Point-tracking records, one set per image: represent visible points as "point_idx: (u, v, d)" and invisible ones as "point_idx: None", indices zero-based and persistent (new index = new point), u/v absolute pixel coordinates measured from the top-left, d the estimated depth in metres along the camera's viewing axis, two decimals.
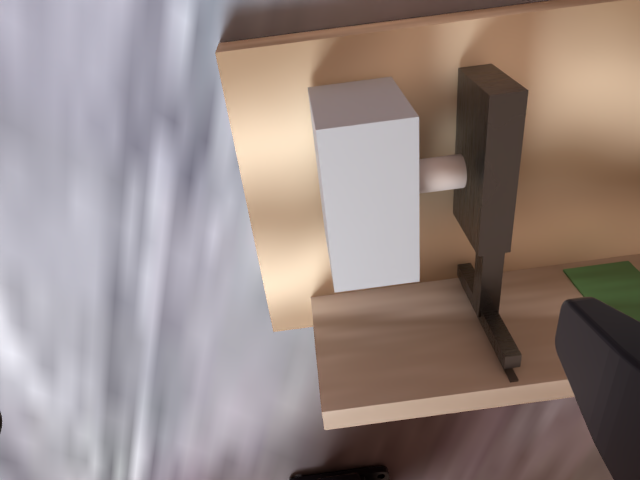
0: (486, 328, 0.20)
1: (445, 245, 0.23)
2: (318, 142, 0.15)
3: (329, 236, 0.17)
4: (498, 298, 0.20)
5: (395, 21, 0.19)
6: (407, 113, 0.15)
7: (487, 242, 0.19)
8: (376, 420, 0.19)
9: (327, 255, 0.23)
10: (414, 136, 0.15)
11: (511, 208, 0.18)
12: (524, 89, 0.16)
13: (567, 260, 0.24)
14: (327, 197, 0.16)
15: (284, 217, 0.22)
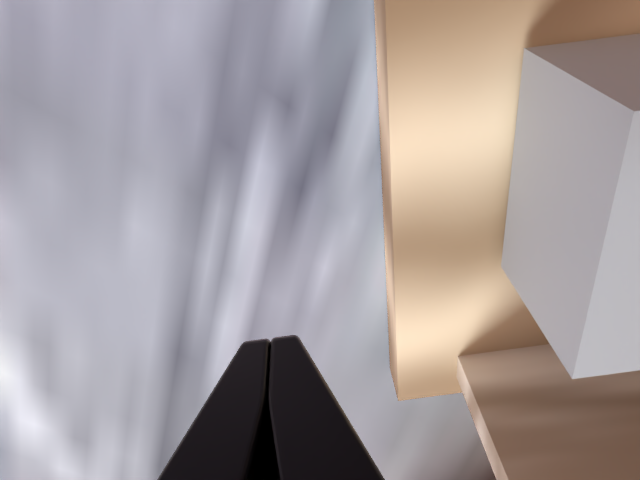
0: None
1: None
2: (630, 134, 0.08)
3: (593, 295, 0.10)
4: None
5: None
6: None
7: None
8: None
9: (493, 300, 0.16)
10: None
11: None
12: None
13: None
14: (613, 231, 0.09)
15: (443, 247, 0.15)
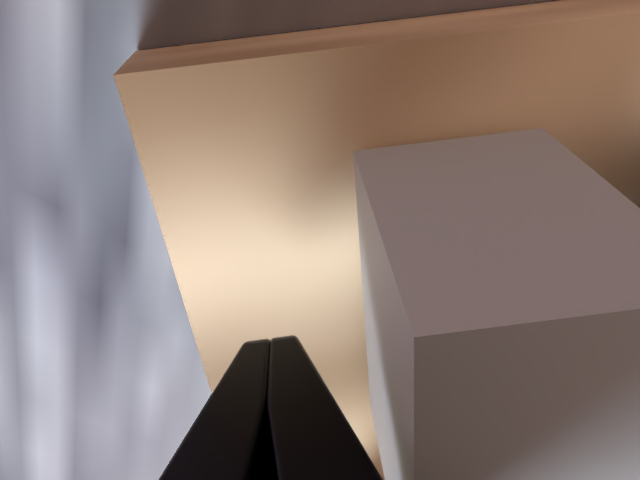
0: None
1: None
2: (417, 366, 0.05)
3: None
4: None
5: (521, 7, 0.09)
6: None
7: None
8: None
9: None
10: None
11: None
12: None
13: None
14: None
15: None
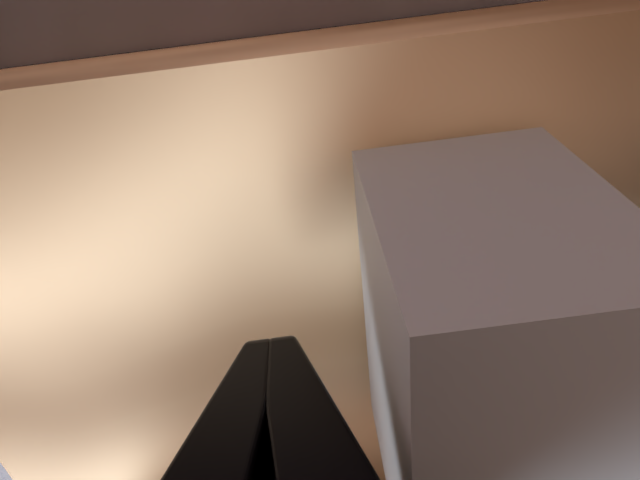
0: None
1: None
2: (414, 366, 0.05)
3: None
4: None
5: (209, 45, 0.09)
6: None
7: None
8: None
9: (140, 467, 0.12)
10: None
11: None
12: None
13: None
14: None
15: (37, 415, 0.11)
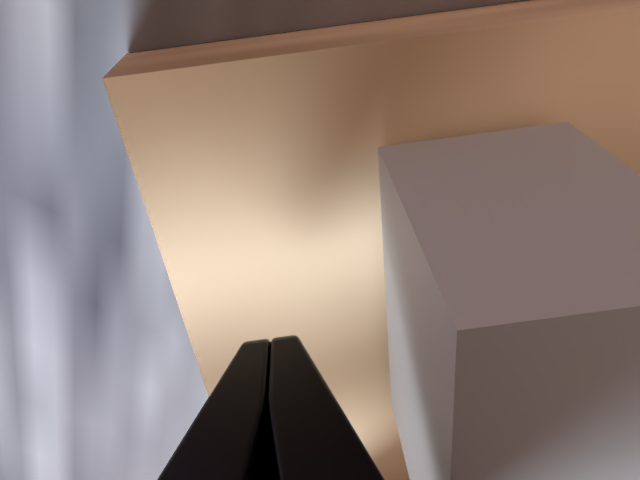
0: None
1: None
2: (459, 360, 0.05)
3: None
4: None
5: (512, 5, 0.09)
6: None
7: None
8: None
9: None
10: None
11: None
12: None
13: None
14: (461, 475, 0.06)
15: None
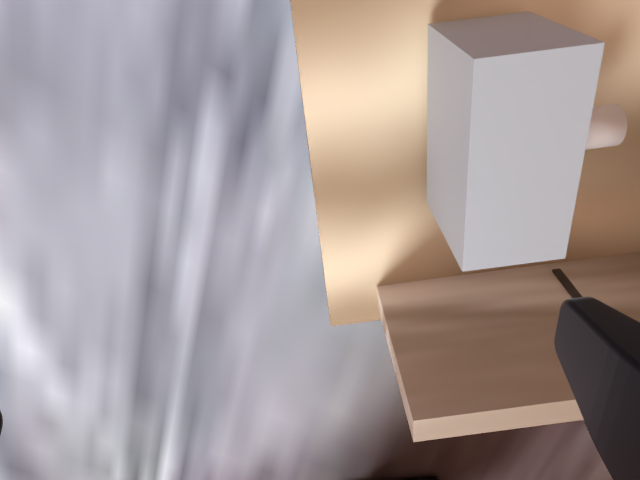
0: None
1: None
2: (474, 75, 0.12)
3: (467, 200, 0.14)
4: None
5: None
6: (585, 39, 0.12)
7: None
8: (476, 431, 0.16)
9: (400, 236, 0.20)
10: (593, 69, 0.12)
11: None
12: None
13: None
14: (473, 149, 0.13)
15: (354, 190, 0.18)
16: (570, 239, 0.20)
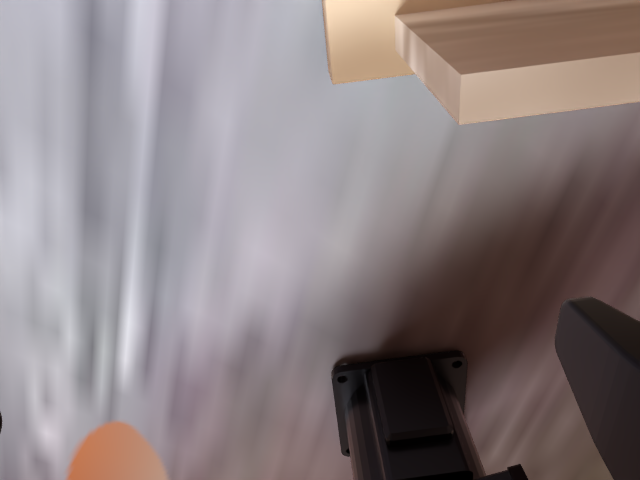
0: None
1: None
2: None
3: None
4: None
5: None
6: None
7: None
8: (555, 106, 0.10)
9: None
10: None
11: None
12: None
13: None
14: None
15: None
16: None
